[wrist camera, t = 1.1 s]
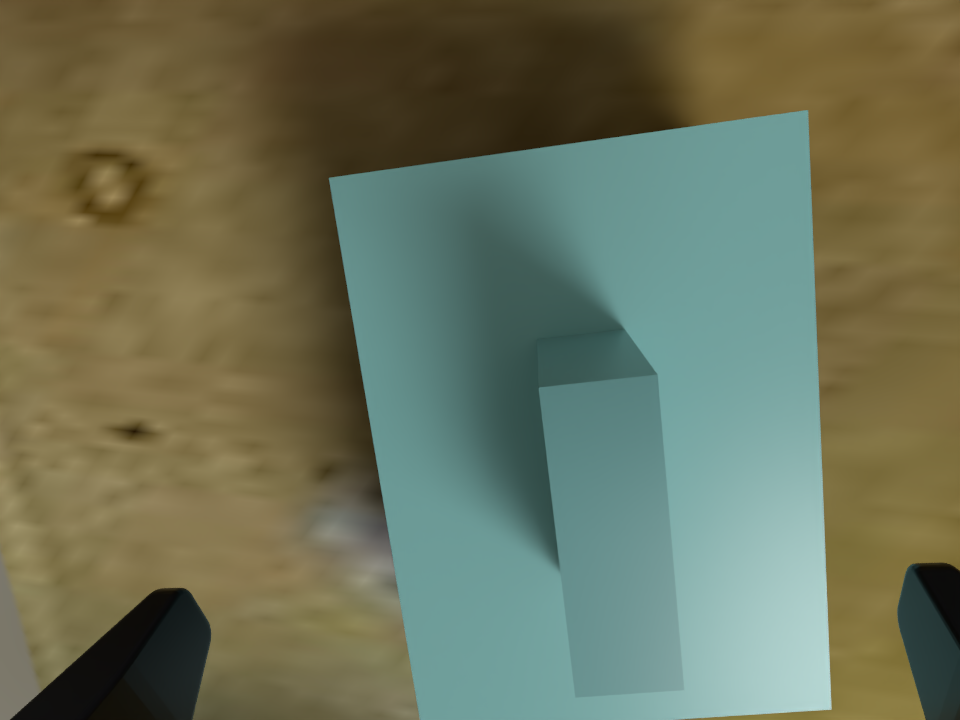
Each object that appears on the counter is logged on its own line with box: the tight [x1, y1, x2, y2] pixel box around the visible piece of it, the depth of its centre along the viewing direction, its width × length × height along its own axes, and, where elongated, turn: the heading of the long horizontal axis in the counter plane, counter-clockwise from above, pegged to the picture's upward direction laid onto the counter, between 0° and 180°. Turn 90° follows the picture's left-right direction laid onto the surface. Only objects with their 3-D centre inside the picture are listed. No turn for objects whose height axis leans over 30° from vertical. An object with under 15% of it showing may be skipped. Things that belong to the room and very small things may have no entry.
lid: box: [329, 110, 831, 720], centre depth 16 cm, size 14×10×7 cm
